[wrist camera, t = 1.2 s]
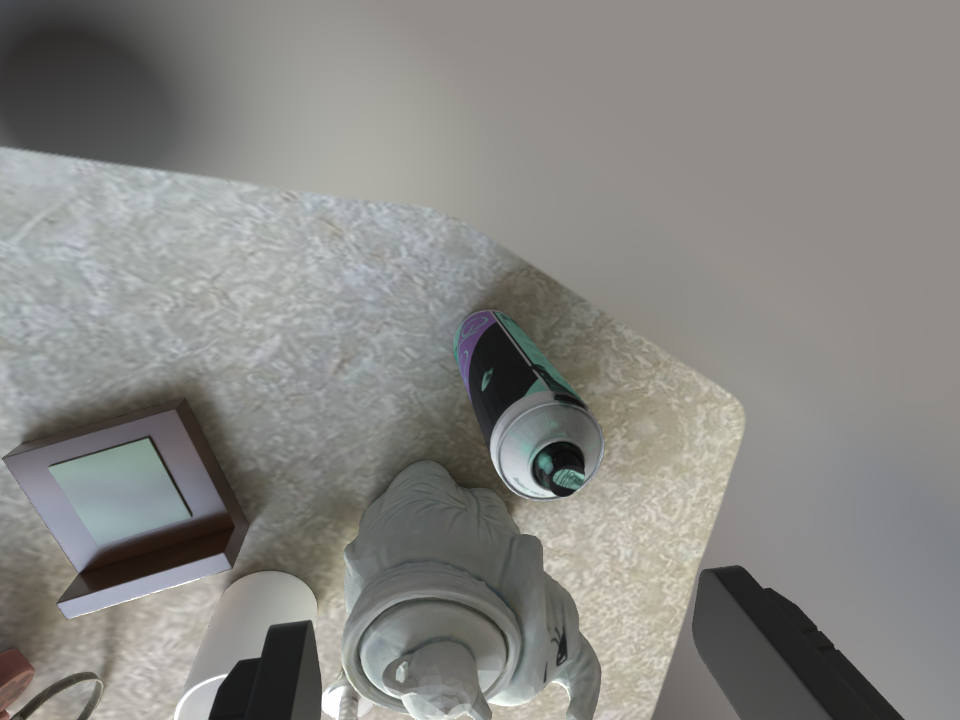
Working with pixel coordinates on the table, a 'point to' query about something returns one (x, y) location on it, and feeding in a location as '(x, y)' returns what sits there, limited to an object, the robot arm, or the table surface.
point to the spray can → (526, 410)
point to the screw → (344, 700)
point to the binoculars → (12, 674)
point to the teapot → (457, 606)
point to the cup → (242, 633)
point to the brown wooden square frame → (132, 504)
